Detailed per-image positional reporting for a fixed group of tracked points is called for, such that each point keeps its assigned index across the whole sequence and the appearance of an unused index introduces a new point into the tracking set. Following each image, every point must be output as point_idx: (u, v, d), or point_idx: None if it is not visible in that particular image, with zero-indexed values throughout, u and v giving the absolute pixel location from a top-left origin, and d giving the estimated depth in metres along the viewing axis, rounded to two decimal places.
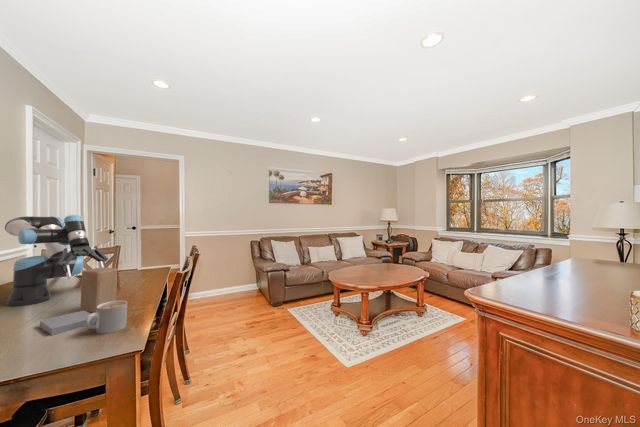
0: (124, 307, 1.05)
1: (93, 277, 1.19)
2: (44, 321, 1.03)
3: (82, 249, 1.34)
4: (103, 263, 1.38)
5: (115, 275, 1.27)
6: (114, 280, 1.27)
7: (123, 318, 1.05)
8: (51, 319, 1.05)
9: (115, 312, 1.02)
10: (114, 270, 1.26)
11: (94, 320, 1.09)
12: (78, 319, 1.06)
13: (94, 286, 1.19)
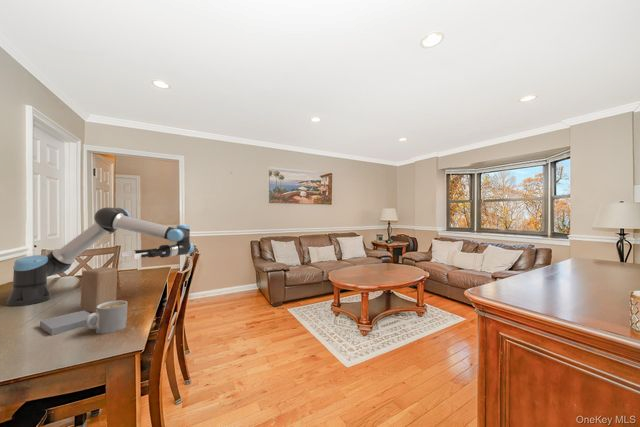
0: (124, 307, 1.05)
1: (93, 277, 1.19)
2: (44, 321, 1.03)
3: None
4: None
5: (115, 275, 1.27)
6: (114, 280, 1.27)
7: (123, 318, 1.05)
8: (51, 319, 1.05)
9: (115, 312, 1.02)
10: (114, 270, 1.26)
11: (94, 320, 1.09)
12: (78, 319, 1.06)
13: (94, 286, 1.19)
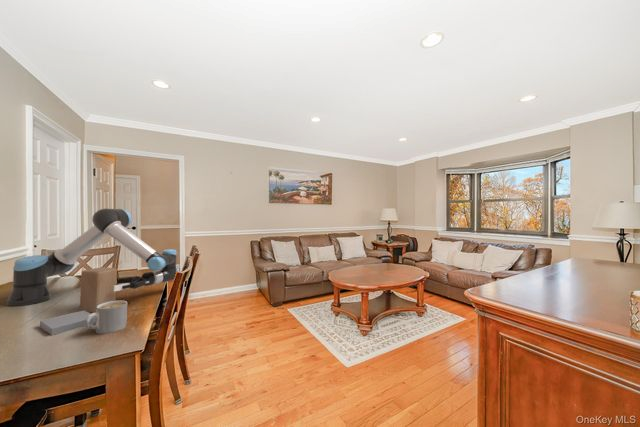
0: (124, 307, 1.05)
1: (93, 277, 1.19)
2: (44, 321, 1.03)
3: None
4: None
5: (115, 275, 1.27)
6: (114, 280, 1.26)
7: (123, 318, 1.05)
8: (51, 319, 1.05)
9: (115, 312, 1.02)
10: (114, 270, 1.26)
11: (94, 320, 1.09)
12: (78, 319, 1.06)
13: (94, 286, 1.19)
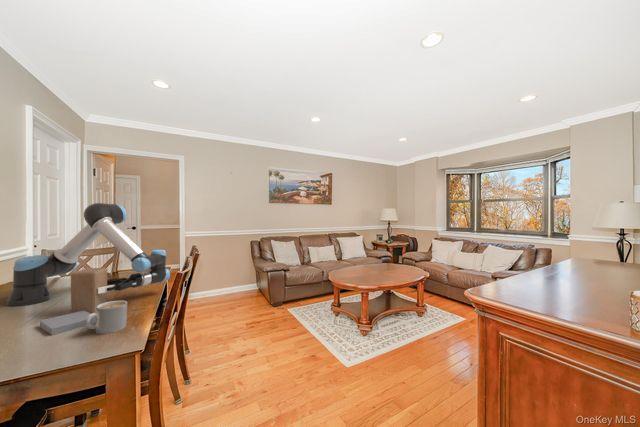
0: (124, 307, 1.05)
1: (89, 278, 1.16)
2: (44, 321, 1.03)
3: None
4: None
5: (106, 274, 1.25)
6: (105, 279, 1.25)
7: (123, 318, 1.05)
8: (51, 319, 1.05)
9: (115, 312, 1.02)
10: (105, 269, 1.25)
11: (94, 320, 1.09)
12: (78, 319, 1.06)
13: (91, 287, 1.17)
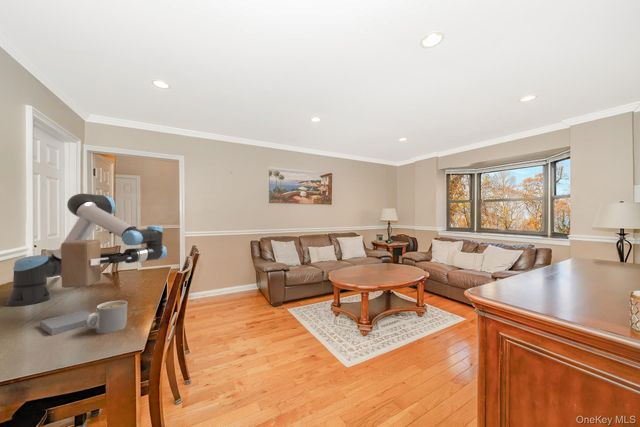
0: (124, 307, 1.05)
1: (81, 248, 1.09)
2: (44, 321, 1.03)
3: None
4: None
5: (99, 247, 1.18)
6: (99, 252, 1.18)
7: (123, 318, 1.05)
8: (51, 319, 1.05)
9: (115, 312, 1.02)
10: (98, 241, 1.18)
11: (94, 320, 1.09)
12: (78, 319, 1.06)
13: (83, 258, 1.10)
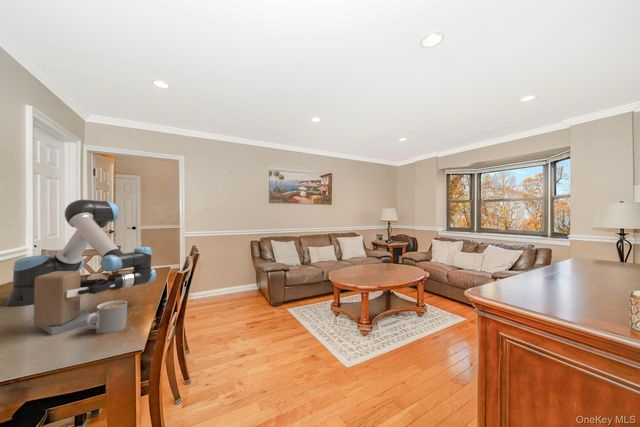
0: (124, 307, 1.05)
1: (56, 283, 0.99)
2: None
3: None
4: None
5: (79, 279, 1.08)
6: (78, 285, 1.07)
7: (123, 318, 1.05)
8: None
9: (115, 312, 1.02)
10: (78, 273, 1.07)
11: (94, 320, 1.09)
12: (78, 319, 1.06)
13: (58, 294, 0.99)
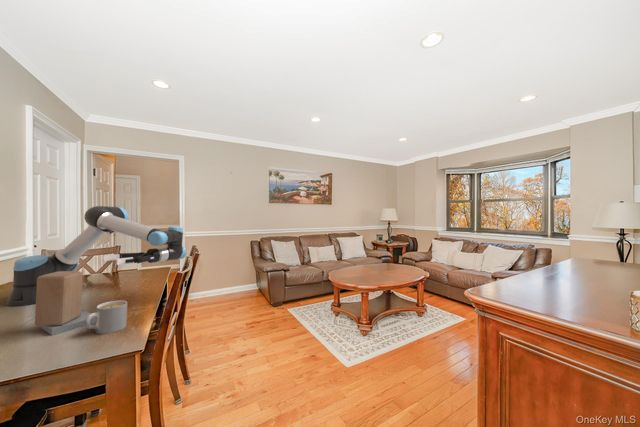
0: (124, 307, 1.05)
1: (57, 282, 1.00)
2: None
3: None
4: None
5: (81, 279, 1.08)
6: (80, 285, 1.08)
7: (123, 318, 1.05)
8: None
9: (115, 312, 1.02)
10: (80, 273, 1.08)
11: (94, 320, 1.09)
12: (78, 319, 1.06)
13: (59, 294, 1.00)
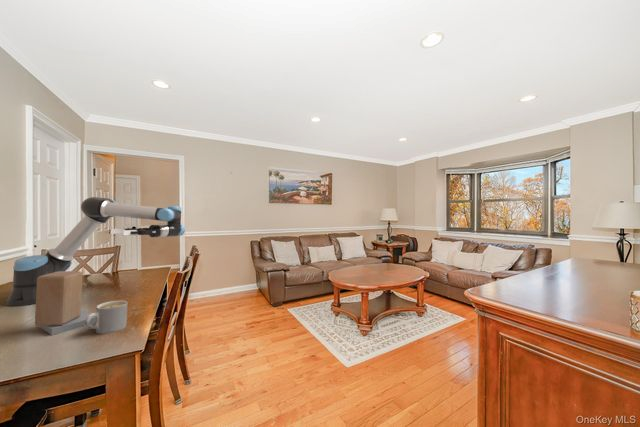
0: (124, 307, 1.05)
1: (57, 282, 1.00)
2: None
3: None
4: None
5: (81, 279, 1.08)
6: (80, 285, 1.08)
7: (123, 318, 1.05)
8: None
9: (115, 312, 1.02)
10: (80, 273, 1.08)
11: (94, 320, 1.09)
12: (78, 319, 1.06)
13: (59, 294, 1.00)
